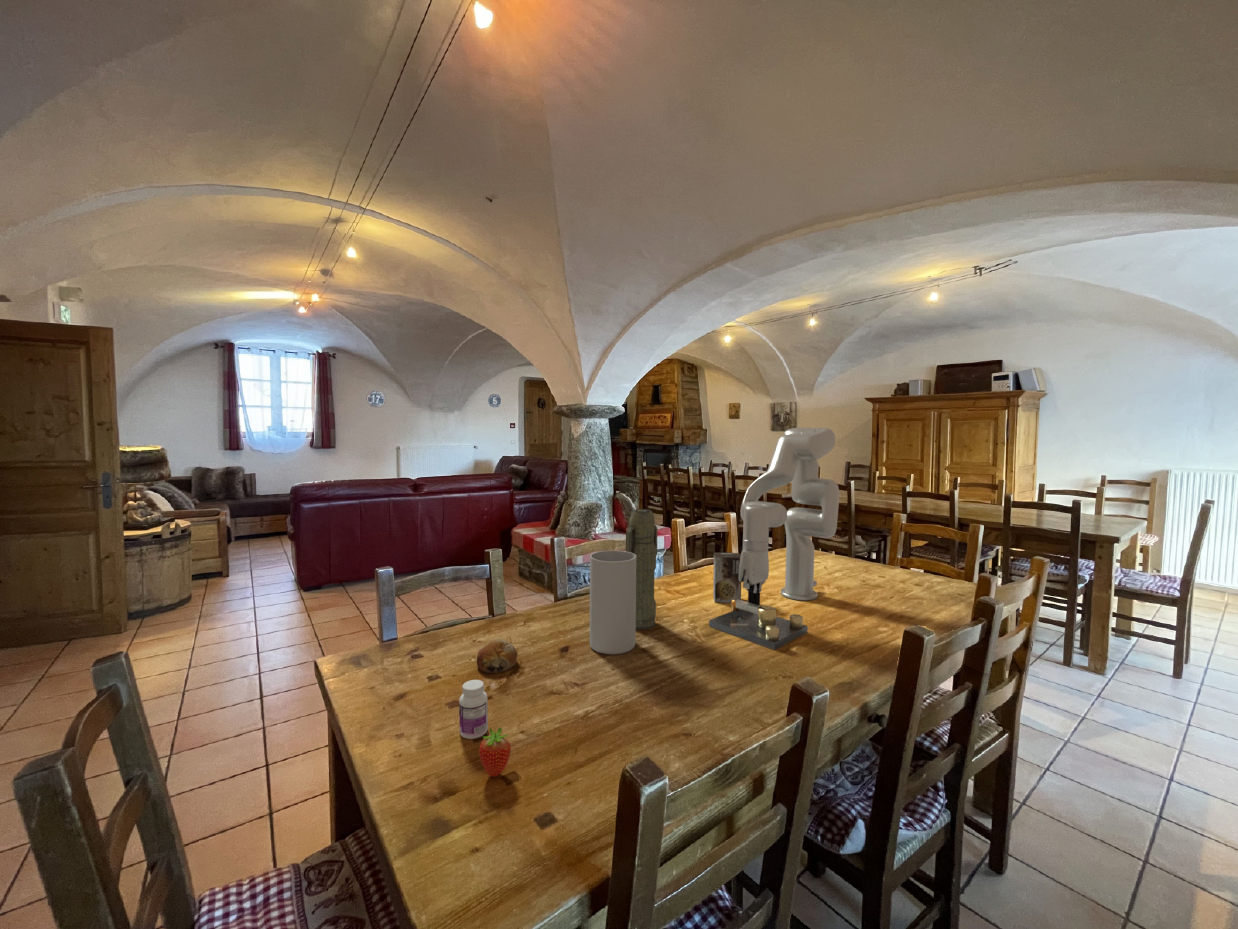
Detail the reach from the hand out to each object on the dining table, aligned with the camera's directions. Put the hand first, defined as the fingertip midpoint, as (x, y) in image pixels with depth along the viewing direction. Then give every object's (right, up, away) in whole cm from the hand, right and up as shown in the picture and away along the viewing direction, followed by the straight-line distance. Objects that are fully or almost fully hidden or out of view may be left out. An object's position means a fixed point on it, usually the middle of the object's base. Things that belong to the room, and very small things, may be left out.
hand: (753, 604), depth 159 cm
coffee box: (-4, -5, +21) cm, 22 cm away
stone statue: (-35, -6, -1) cm, 35 cm away
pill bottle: (-70, -10, -58) cm, 91 cm away
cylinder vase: (-43, -7, -17) cm, 47 cm away
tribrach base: (0, -6, -5) cm, 8 cm away
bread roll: (-72, -8, -29) cm, 78 cm away
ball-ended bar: (-1, -4, -4) cm, 6 cm away
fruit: (-63, -11, -70) cm, 95 cm away
